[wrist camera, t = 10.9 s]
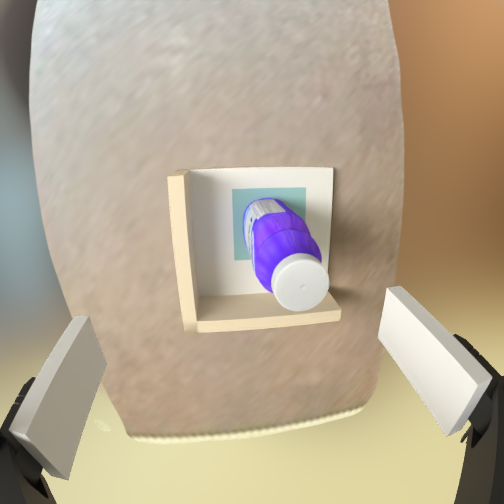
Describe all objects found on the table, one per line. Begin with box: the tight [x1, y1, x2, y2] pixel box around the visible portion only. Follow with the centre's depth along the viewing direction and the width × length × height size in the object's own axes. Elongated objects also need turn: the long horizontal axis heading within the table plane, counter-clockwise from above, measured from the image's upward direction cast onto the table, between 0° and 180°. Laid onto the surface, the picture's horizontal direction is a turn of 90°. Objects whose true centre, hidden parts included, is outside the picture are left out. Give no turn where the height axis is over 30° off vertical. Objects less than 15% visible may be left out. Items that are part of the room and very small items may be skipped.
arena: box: [167, 166, 341, 333], centre depth 35 cm, size 18×19×7 cm
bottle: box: [243, 198, 330, 311], centre depth 29 cm, size 7×6×17 cm
